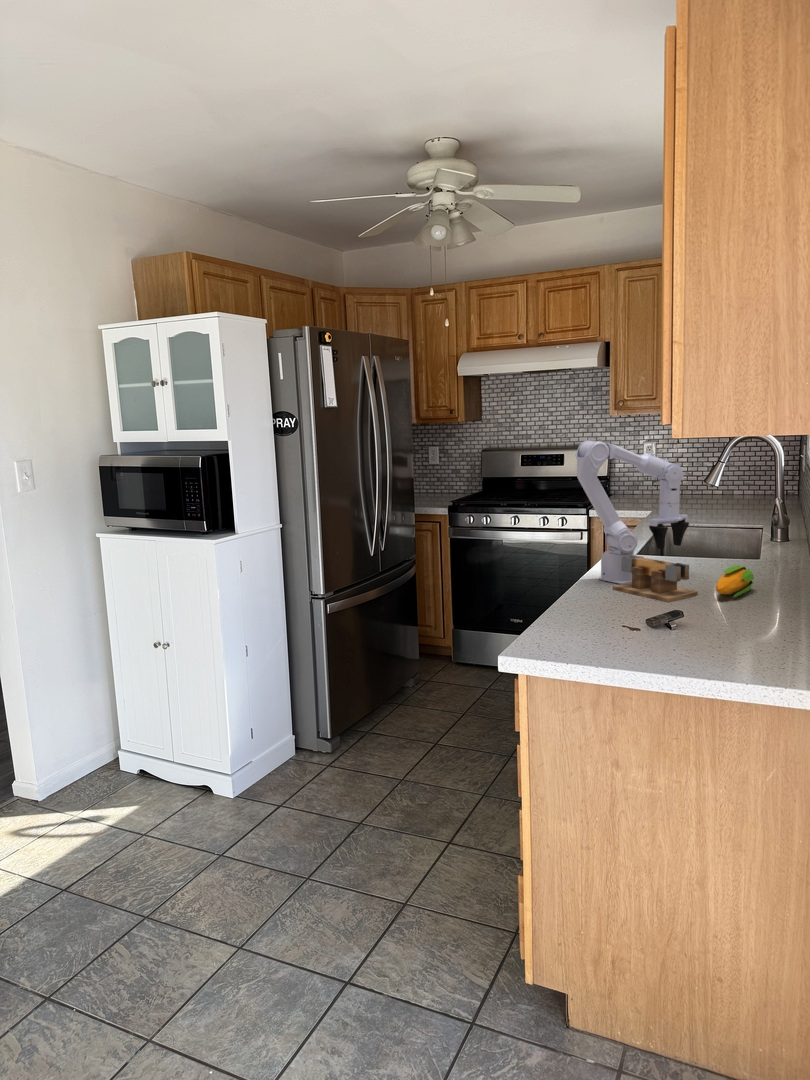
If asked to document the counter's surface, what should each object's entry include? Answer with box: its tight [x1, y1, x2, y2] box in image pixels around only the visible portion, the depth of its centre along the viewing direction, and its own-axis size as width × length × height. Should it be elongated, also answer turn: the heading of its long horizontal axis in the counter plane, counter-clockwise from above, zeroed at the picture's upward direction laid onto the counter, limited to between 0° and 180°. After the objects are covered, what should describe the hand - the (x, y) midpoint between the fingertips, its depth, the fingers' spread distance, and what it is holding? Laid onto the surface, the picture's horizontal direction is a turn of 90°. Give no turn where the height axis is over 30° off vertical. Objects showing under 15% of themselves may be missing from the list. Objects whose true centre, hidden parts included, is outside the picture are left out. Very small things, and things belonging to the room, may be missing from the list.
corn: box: [715, 565, 755, 598], centre depth 209 cm, size 7×8×20 cm
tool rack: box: [612, 567, 699, 603], centre depth 216 cm, size 20×12×7 cm, turn 31°
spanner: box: [621, 554, 690, 583], centre depth 215 cm, size 20×5×4 cm, turn 31°
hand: (668, 547), depth 232 cm, fingers open, 7 cm apart
